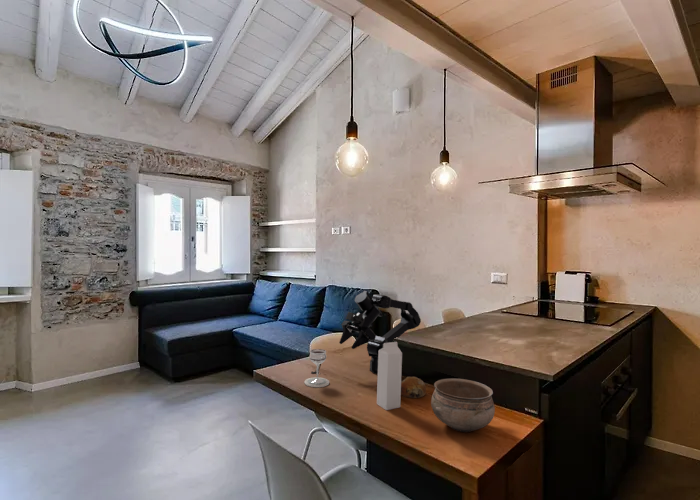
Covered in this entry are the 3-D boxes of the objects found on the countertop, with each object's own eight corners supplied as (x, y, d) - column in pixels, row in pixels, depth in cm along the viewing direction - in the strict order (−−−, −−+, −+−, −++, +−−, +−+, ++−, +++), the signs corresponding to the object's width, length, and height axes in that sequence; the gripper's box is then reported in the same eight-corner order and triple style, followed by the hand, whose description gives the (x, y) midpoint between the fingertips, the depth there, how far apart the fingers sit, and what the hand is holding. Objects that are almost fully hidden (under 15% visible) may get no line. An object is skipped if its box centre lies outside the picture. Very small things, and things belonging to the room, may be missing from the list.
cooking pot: (458, 407, 135) (459, 372, 135) (510, 427, 121) (511, 388, 121) (411, 426, 119) (412, 387, 119) (465, 452, 104) (467, 407, 104)
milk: (400, 407, 133) (403, 343, 133) (385, 410, 130) (388, 345, 130) (390, 401, 139) (392, 339, 139) (376, 403, 136) (378, 341, 136)
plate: (326, 378, 161) (326, 376, 161) (331, 386, 152) (331, 384, 152) (302, 379, 158) (302, 377, 158) (306, 388, 149) (306, 386, 149)
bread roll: (427, 403, 148) (429, 381, 151) (421, 399, 139) (424, 376, 143) (401, 398, 152) (405, 377, 155) (394, 394, 144) (398, 372, 147)
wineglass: (328, 379, 157) (329, 350, 157) (321, 385, 151) (322, 354, 151) (313, 377, 160) (314, 348, 160) (305, 382, 153) (306, 352, 153)
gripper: (345, 302, 173) (323, 329, 167) (371, 308, 157) (347, 338, 151) (359, 318, 177) (338, 345, 171) (385, 326, 162) (363, 355, 155)
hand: (346, 345), depth 162 cm, fingers open, 9 cm apart
